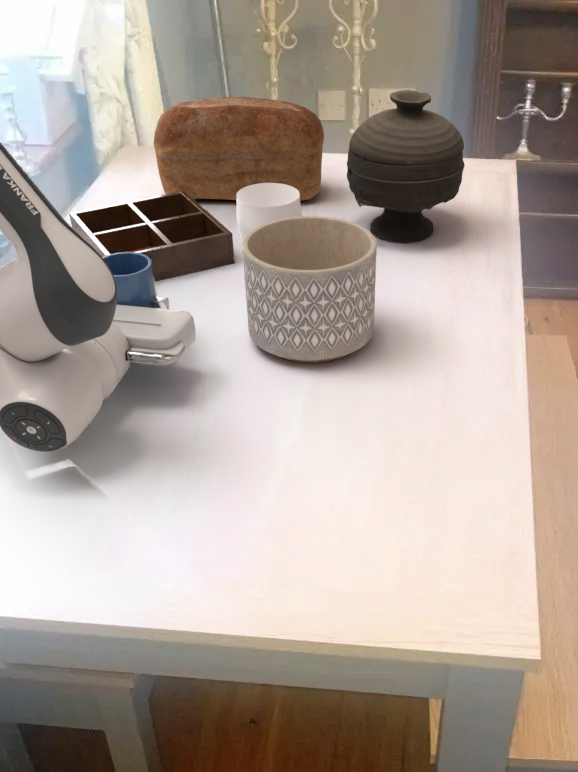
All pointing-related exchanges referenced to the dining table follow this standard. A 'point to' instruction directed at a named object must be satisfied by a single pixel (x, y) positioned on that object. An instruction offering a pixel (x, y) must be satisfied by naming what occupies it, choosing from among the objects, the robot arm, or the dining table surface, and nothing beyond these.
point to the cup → (265, 205)
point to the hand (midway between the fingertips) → (131, 299)
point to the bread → (238, 147)
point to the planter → (310, 287)
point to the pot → (405, 166)
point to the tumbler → (133, 278)
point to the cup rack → (159, 233)
